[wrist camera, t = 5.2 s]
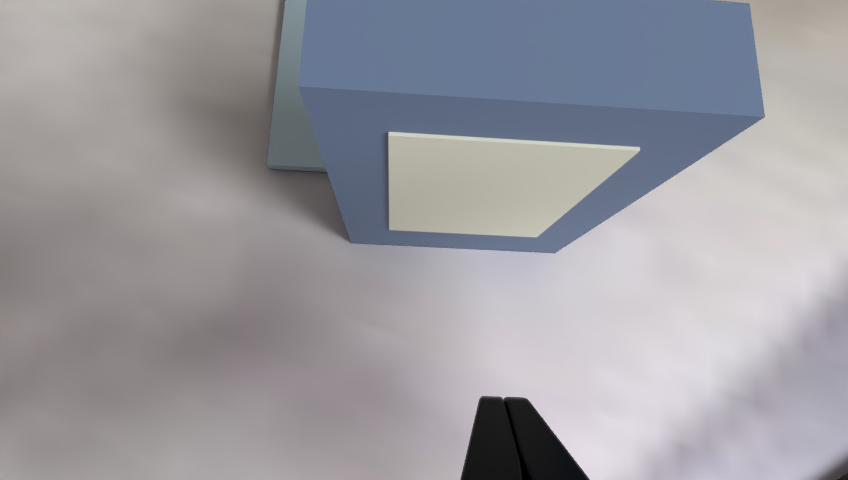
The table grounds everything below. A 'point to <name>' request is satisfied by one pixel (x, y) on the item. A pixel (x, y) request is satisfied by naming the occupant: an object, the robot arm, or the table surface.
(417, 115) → the box
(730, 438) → the table surface
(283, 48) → the mat
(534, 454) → the robot arm
